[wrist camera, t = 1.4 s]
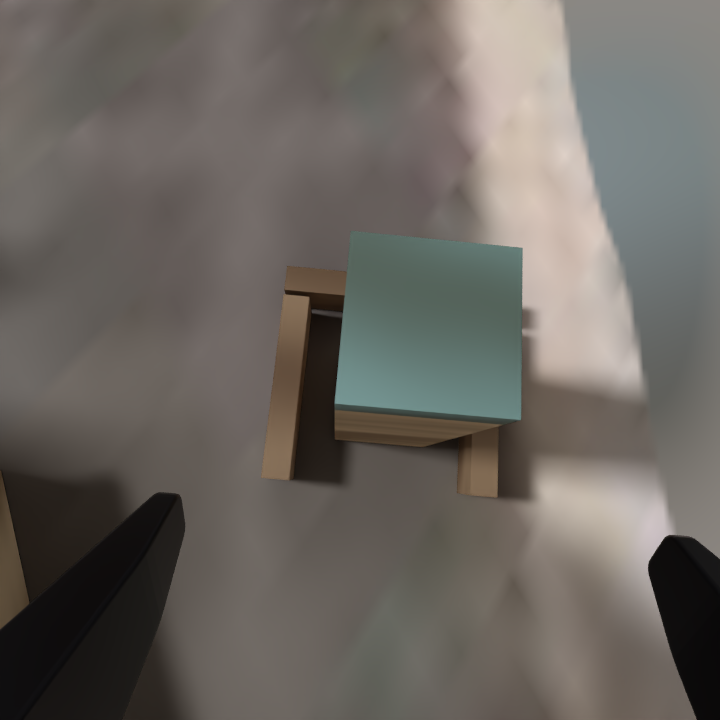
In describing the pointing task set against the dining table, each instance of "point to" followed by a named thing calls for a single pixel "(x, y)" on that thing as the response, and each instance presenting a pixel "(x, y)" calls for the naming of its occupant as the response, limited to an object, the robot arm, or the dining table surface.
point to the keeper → (288, 383)
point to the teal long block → (428, 340)
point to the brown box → (9, 566)
